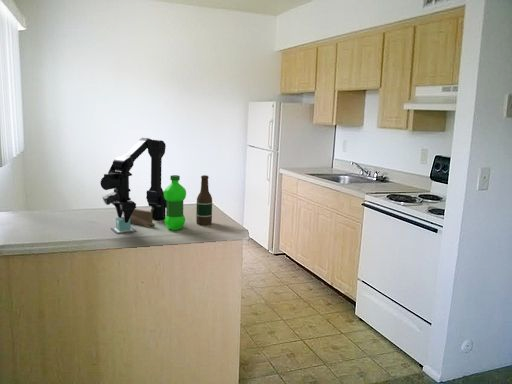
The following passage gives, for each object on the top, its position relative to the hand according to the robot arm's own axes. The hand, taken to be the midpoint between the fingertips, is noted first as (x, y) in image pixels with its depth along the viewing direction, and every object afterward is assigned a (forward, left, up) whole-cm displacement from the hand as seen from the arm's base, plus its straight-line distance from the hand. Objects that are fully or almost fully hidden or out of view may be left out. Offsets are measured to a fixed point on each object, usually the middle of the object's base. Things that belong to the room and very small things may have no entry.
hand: (123, 220), depth 202 cm
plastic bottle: (-22, +7, -5) cm, 24 cm away
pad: (0, 0, -5) cm, 5 cm away
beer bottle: (-38, +6, -5) cm, 39 cm away
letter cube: (0, 0, -4) cm, 4 cm away
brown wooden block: (-10, -7, -5) cm, 13 cm away
